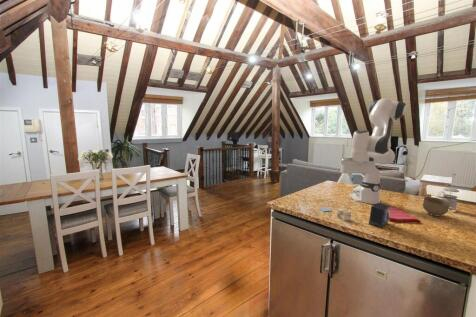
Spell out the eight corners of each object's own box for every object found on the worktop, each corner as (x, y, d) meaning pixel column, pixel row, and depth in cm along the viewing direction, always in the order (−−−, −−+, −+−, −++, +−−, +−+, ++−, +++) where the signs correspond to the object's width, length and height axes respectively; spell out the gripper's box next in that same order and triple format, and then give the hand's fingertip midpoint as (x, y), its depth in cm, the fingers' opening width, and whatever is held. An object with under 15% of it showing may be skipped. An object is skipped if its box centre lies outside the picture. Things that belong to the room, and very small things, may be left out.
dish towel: (390, 222, 134) (391, 218, 134) (369, 208, 158) (370, 204, 157) (421, 224, 134) (422, 220, 133) (396, 209, 157) (396, 205, 157)
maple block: (336, 217, 138) (337, 209, 137) (343, 216, 140) (344, 208, 139) (343, 221, 134) (344, 212, 133) (350, 219, 135) (351, 211, 135)
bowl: (437, 220, 140) (440, 203, 138) (416, 212, 152) (418, 197, 150) (453, 218, 143) (455, 202, 141) (431, 210, 155) (433, 196, 154)
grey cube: (349, 181, 145) (350, 173, 144) (358, 182, 144) (359, 174, 144) (353, 184, 140) (354, 175, 139) (361, 184, 139) (362, 176, 139)
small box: (381, 228, 125) (383, 209, 124) (368, 224, 130) (370, 205, 129) (388, 223, 132) (391, 205, 130) (376, 219, 137) (378, 202, 135)
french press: (461, 213, 153) (468, 175, 149) (440, 211, 155) (447, 174, 151) (451, 208, 162) (457, 172, 158) (431, 206, 164) (437, 171, 161)
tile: (318, 208, 152) (318, 207, 152) (327, 208, 153) (327, 207, 153) (322, 211, 147) (322, 210, 146) (331, 211, 147) (332, 210, 147)
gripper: (345, 158, 135) (342, 181, 137) (377, 158, 138) (375, 181, 140) (339, 156, 141) (337, 179, 143) (370, 157, 144) (367, 179, 146)
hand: (356, 180), depth 142 cm, fingers closed on grey cube, 5 cm apart
